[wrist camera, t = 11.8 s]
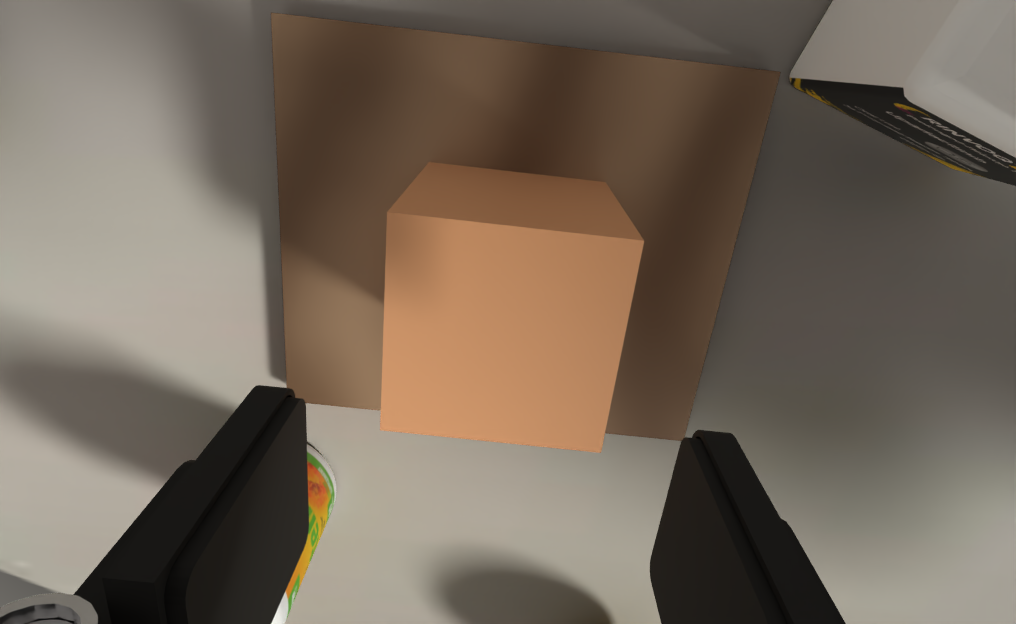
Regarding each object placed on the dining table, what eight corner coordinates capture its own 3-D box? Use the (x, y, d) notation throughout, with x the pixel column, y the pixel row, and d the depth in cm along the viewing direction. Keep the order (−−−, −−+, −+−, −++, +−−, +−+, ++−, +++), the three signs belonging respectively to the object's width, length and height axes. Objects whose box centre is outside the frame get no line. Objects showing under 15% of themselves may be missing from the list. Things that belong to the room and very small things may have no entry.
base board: (768, 70, 20) (780, 72, 19) (677, 427, 26) (683, 441, 25) (282, 14, 20) (270, 12, 19) (295, 388, 25) (287, 400, 24)
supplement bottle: (342, 529, 28) (259, 752, 19) (226, 524, 28) (88, 743, 19) (335, 431, 26) (237, 630, 17) (209, 425, 26) (46, 620, 17)
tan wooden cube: (605, 181, 21) (644, 240, 14) (578, 340, 23) (601, 452, 16) (428, 161, 20) (386, 212, 14) (419, 323, 23) (380, 430, 16)
